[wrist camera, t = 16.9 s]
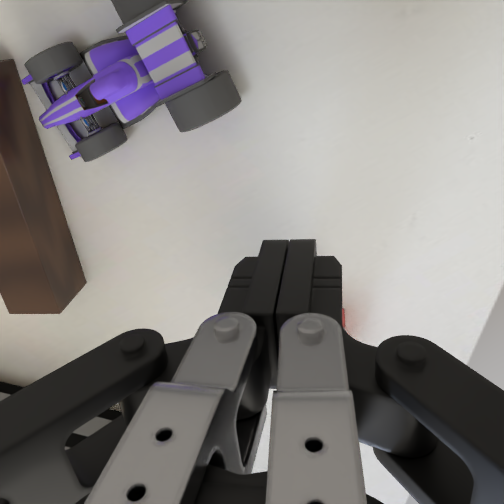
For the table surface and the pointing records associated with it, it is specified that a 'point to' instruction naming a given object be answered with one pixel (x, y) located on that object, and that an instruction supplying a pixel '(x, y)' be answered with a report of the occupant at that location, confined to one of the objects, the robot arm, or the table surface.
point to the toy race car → (131, 78)
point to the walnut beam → (30, 214)
